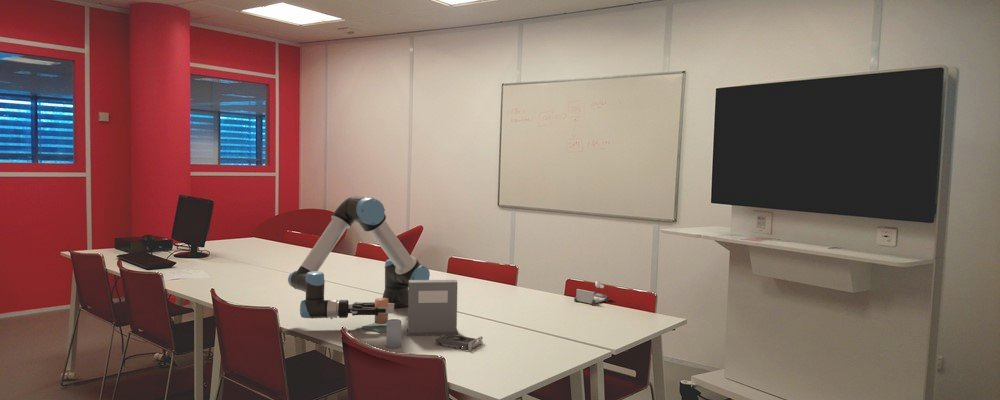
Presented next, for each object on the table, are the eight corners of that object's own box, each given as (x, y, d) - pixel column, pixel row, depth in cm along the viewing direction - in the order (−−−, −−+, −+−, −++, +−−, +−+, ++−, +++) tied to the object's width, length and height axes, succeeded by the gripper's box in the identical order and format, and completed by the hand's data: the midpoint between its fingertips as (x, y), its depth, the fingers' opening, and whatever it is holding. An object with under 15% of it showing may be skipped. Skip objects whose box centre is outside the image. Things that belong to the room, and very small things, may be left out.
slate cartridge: (383, 346, 235) (383, 321, 234) (393, 343, 240) (394, 318, 239) (393, 349, 232) (393, 323, 231) (404, 346, 236) (404, 320, 236)
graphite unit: (406, 331, 257) (407, 279, 255) (456, 330, 260) (457, 279, 258) (406, 335, 250) (407, 283, 248) (457, 334, 253) (458, 282, 251)
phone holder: (594, 279, 329) (612, 282, 321) (593, 297, 330) (611, 301, 322) (574, 283, 316) (592, 287, 308) (573, 302, 317) (592, 306, 309)
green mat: (361, 327, 260) (361, 326, 260) (382, 322, 270) (382, 320, 270) (380, 333, 253) (380, 331, 253) (401, 327, 263) (401, 325, 263)
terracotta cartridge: (371, 322, 260) (372, 299, 260) (381, 319, 265) (382, 297, 264) (381, 324, 257) (381, 301, 256) (390, 322, 262) (391, 299, 261)
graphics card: (485, 336, 242) (470, 343, 231) (485, 345, 242) (470, 352, 231) (448, 330, 249) (433, 337, 239) (448, 339, 249) (432, 346, 239)
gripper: (340, 312, 267) (394, 311, 271) (335, 323, 249) (393, 322, 253) (340, 295, 267) (394, 294, 270) (336, 305, 248) (393, 304, 252)
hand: (393, 308), depth 261 cm, fingers closed on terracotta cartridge, 5 cm apart
